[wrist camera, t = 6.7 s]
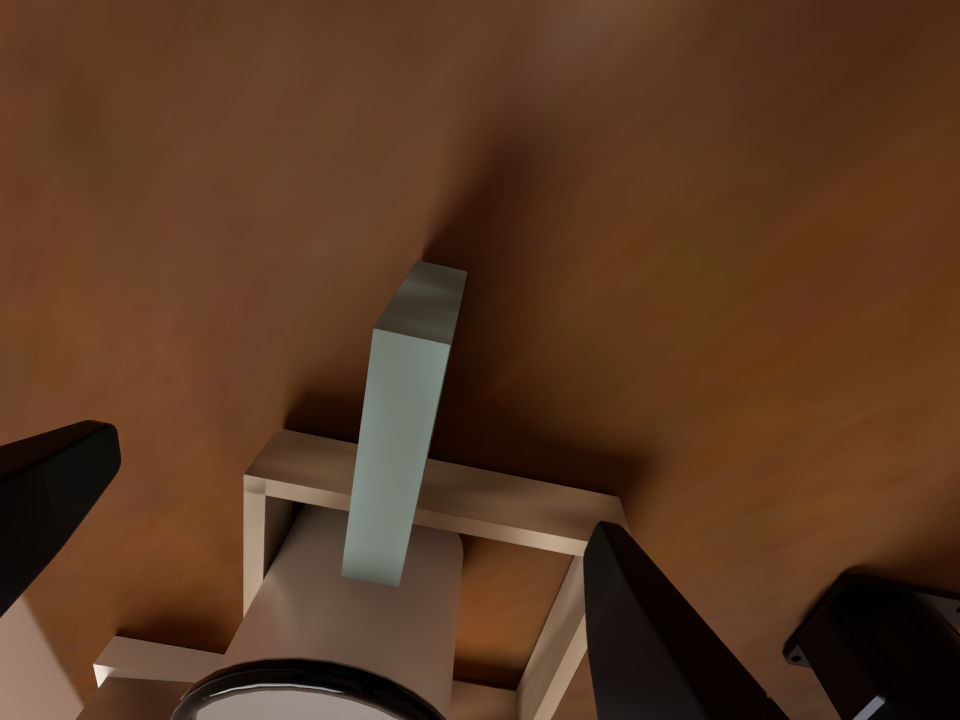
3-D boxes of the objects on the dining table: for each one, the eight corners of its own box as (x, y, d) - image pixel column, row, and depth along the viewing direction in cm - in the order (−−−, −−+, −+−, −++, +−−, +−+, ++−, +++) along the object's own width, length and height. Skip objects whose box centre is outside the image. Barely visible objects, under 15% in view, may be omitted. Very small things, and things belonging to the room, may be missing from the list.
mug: (365, 432, 20) (275, 633, 12) (515, 551, 23) (523, 781, 15) (217, 565, 24) (74, 785, 16) (360, 654, 27) (299, 880, 19)
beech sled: (698, 324, 17) (797, 420, 12) (525, 701, 28) (532, 851, 22) (286, 230, 16) (170, 284, 11) (269, 657, 27) (206, 800, 21)
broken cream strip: (374, 680, 28) (367, 710, 27) (363, 735, 31) (356, 764, 29) (114, 635, 27) (93, 664, 26) (125, 695, 30) (106, 724, 28)
